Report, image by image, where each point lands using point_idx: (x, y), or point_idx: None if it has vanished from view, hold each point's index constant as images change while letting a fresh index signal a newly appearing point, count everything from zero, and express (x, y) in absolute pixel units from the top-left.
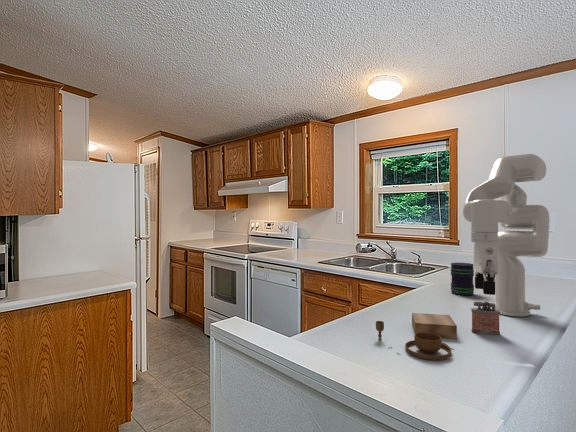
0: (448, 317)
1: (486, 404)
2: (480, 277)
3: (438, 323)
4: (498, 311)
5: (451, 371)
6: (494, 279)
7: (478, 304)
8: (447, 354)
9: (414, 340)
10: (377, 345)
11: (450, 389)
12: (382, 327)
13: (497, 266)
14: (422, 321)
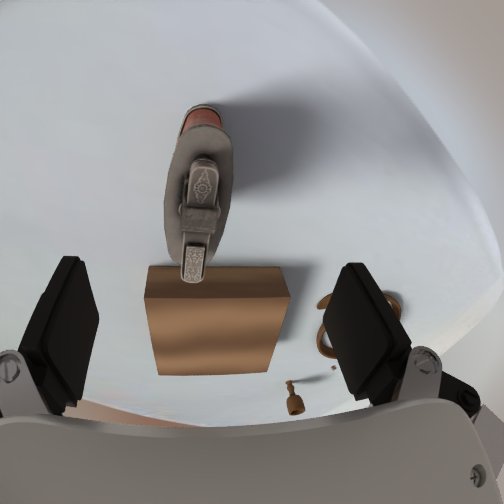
0: (184, 305)
1: (494, 273)
2: (64, 379)
3: (267, 334)
4: (227, 140)
5: (434, 297)
6: (437, 368)
7: (204, 258)
8: (399, 305)
9: (320, 350)
10: (319, 380)
11: (464, 301)
12: (302, 401)
13: (491, 475)
14: (251, 362)
